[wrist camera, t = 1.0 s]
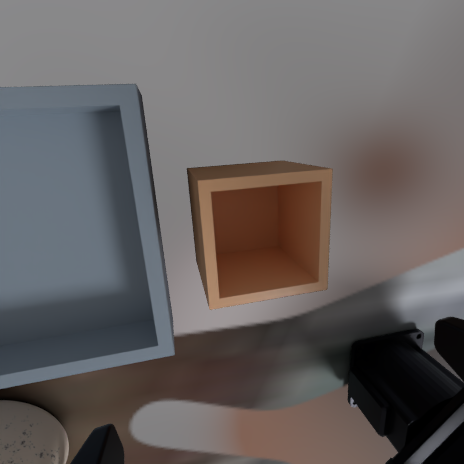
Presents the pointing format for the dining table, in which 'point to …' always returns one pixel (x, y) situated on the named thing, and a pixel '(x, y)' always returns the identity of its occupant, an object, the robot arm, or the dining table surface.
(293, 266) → the small crate
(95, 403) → the dining table surface
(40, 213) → the big crate
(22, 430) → the teacup with lid
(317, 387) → the dining table surface
